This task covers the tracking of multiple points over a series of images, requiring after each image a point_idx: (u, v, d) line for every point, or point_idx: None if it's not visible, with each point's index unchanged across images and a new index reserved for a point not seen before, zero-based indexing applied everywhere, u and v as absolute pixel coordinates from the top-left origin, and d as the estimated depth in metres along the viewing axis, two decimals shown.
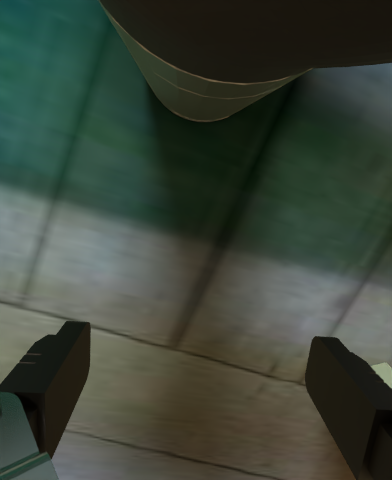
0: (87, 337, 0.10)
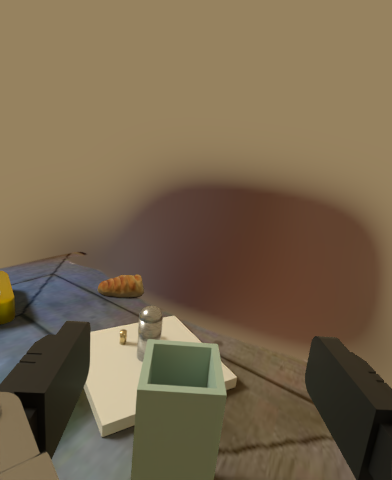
0: (87, 337, 0.10)
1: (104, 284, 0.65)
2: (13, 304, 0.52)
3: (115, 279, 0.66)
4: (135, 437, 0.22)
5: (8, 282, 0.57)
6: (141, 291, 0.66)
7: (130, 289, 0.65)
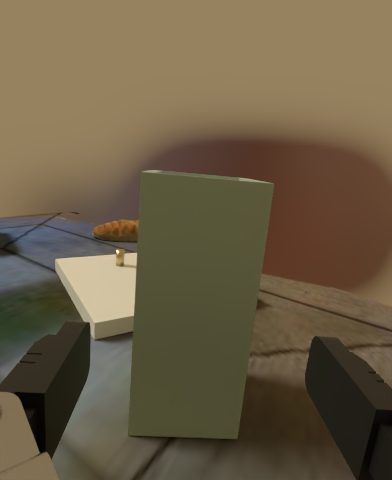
0: (87, 337, 0.10)
1: (100, 227, 0.57)
2: None
3: (112, 222, 0.59)
4: (139, 257, 0.15)
5: None
6: None
7: (129, 231, 0.58)
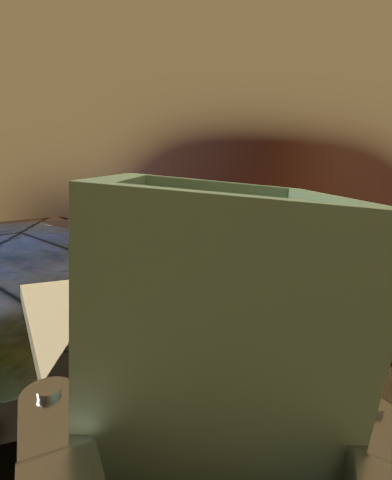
0: None
1: None
2: None
3: None
4: (75, 394, 0.06)
5: None
6: None
7: None
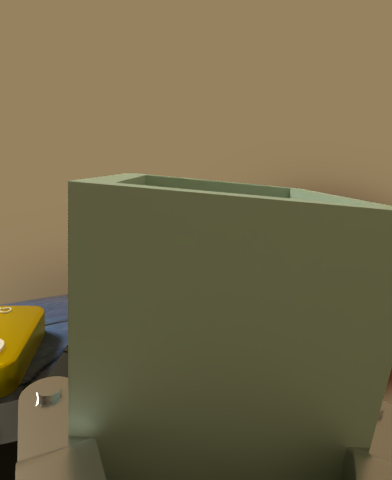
0: None
1: None
2: (12, 371, 0.34)
3: None
4: (74, 396, 0.06)
5: (31, 328, 0.41)
6: None
7: None
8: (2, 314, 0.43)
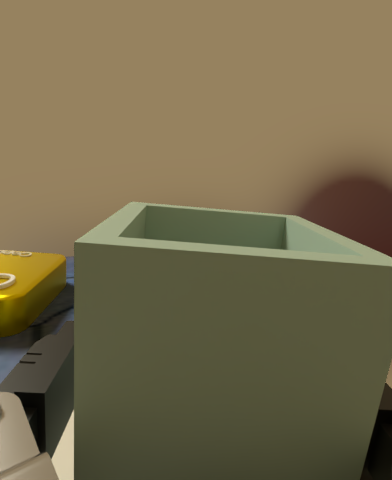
0: None
1: None
2: (20, 307, 0.30)
3: None
4: (80, 435, 0.06)
5: (48, 270, 0.36)
6: None
7: None
8: (21, 257, 0.39)
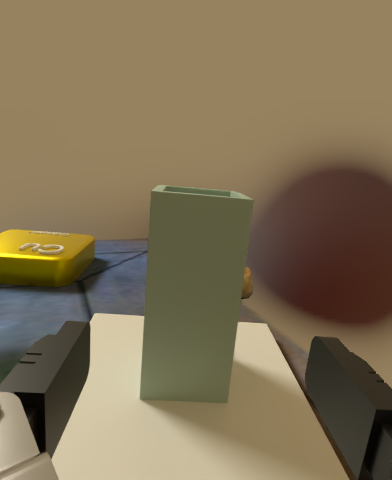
0: (87, 337, 0.10)
1: None
2: (69, 266, 0.42)
3: None
4: (149, 256, 0.19)
5: (84, 244, 0.49)
6: (249, 290, 0.43)
7: None
8: (61, 236, 0.52)
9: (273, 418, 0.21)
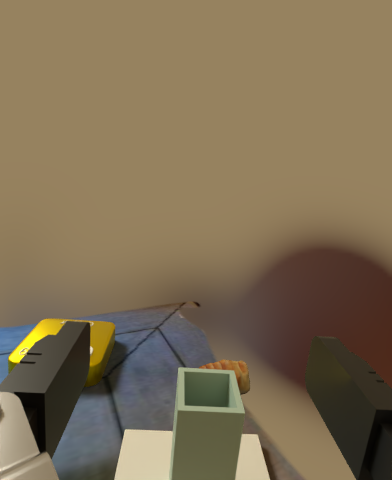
0: (87, 337, 0.10)
1: None
2: (98, 368, 0.52)
3: (216, 367, 0.54)
4: (175, 446, 0.28)
5: (108, 339, 0.58)
6: (247, 388, 0.52)
7: None
8: None
9: None
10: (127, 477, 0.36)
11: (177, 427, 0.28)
